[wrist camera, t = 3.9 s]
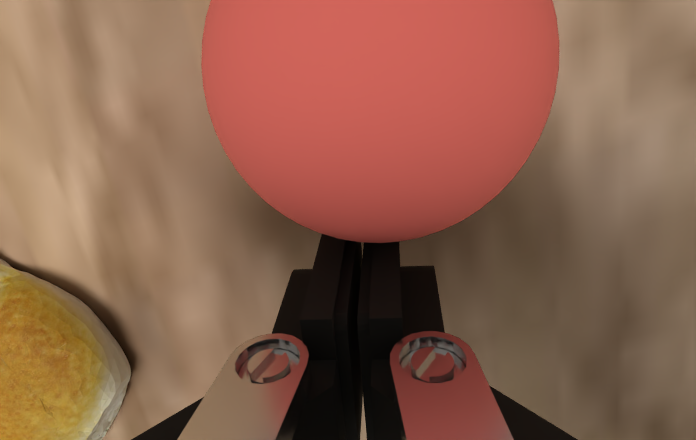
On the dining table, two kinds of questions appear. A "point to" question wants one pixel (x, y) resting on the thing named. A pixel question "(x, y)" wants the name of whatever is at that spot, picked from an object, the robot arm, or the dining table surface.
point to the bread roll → (55, 363)
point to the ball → (379, 106)
